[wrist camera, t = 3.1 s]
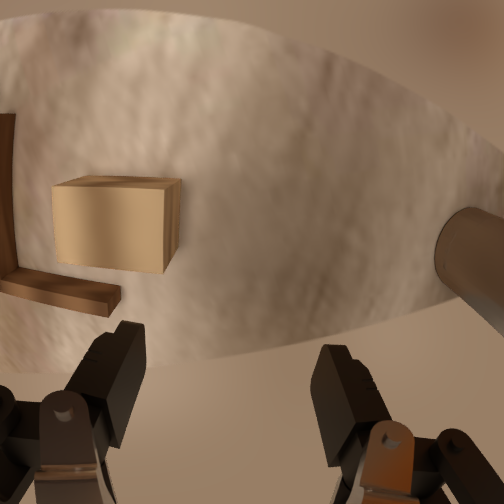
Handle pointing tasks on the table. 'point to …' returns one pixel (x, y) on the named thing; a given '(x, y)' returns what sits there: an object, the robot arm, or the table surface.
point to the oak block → (117, 222)
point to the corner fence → (31, 281)
